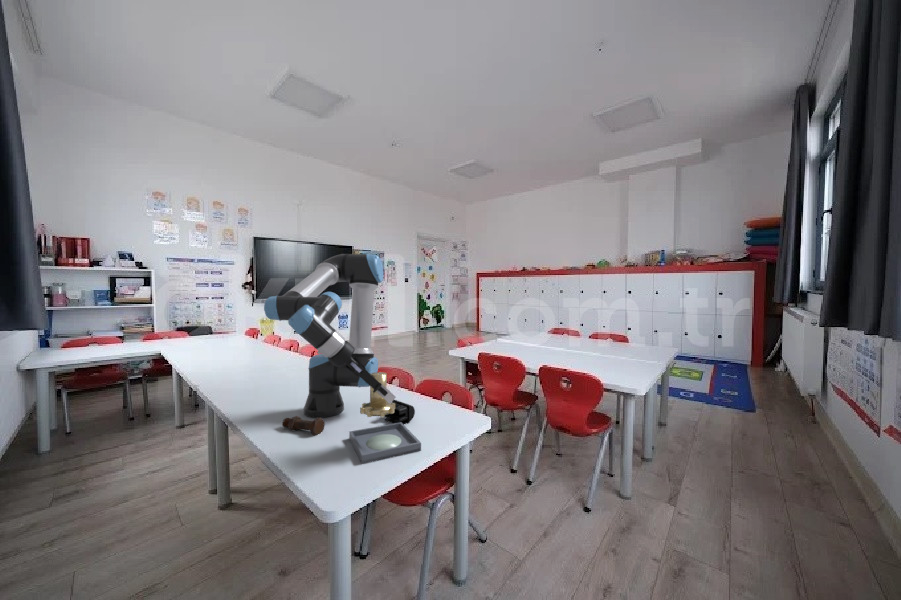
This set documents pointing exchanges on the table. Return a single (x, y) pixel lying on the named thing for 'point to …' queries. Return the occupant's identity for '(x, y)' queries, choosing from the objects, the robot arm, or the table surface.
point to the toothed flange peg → (377, 400)
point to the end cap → (401, 413)
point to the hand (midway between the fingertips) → (389, 397)
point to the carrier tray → (383, 442)
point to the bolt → (304, 424)
